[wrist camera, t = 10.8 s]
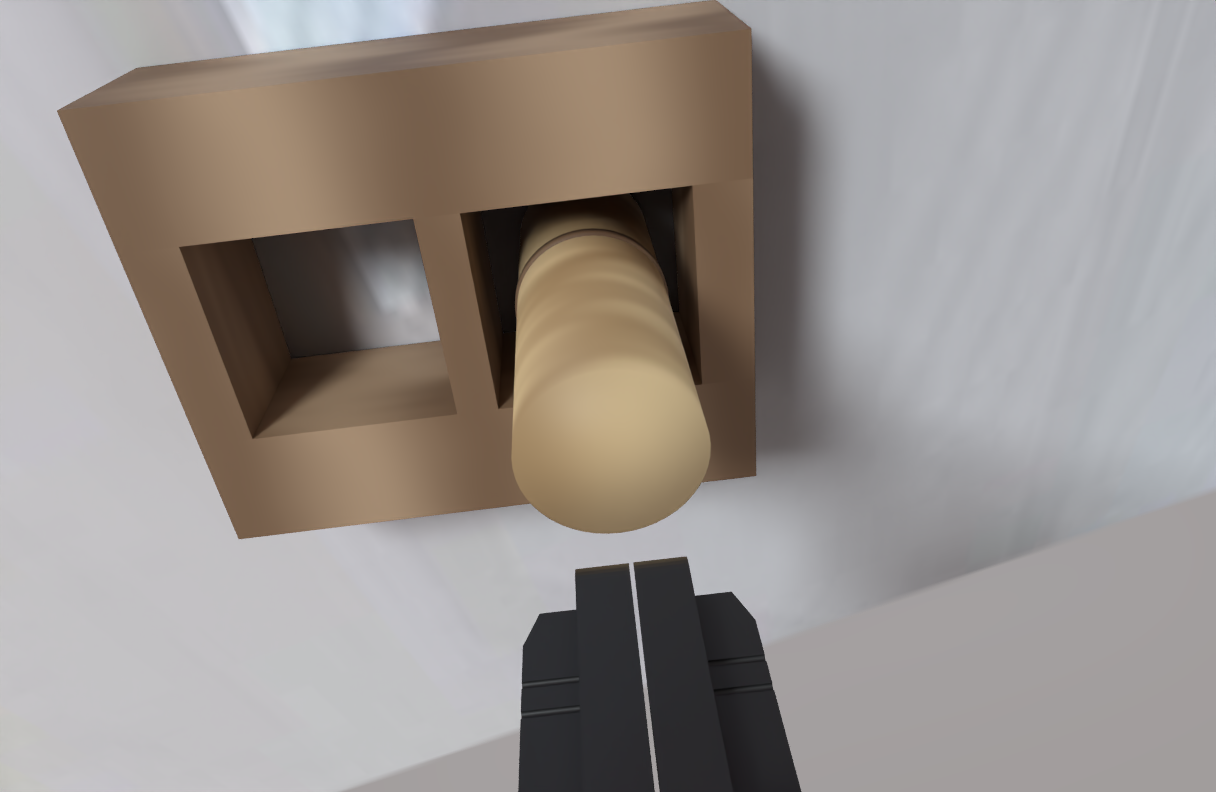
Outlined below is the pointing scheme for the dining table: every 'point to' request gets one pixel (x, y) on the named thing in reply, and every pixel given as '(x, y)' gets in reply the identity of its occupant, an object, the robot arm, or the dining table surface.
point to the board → (446, 231)
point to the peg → (600, 372)
